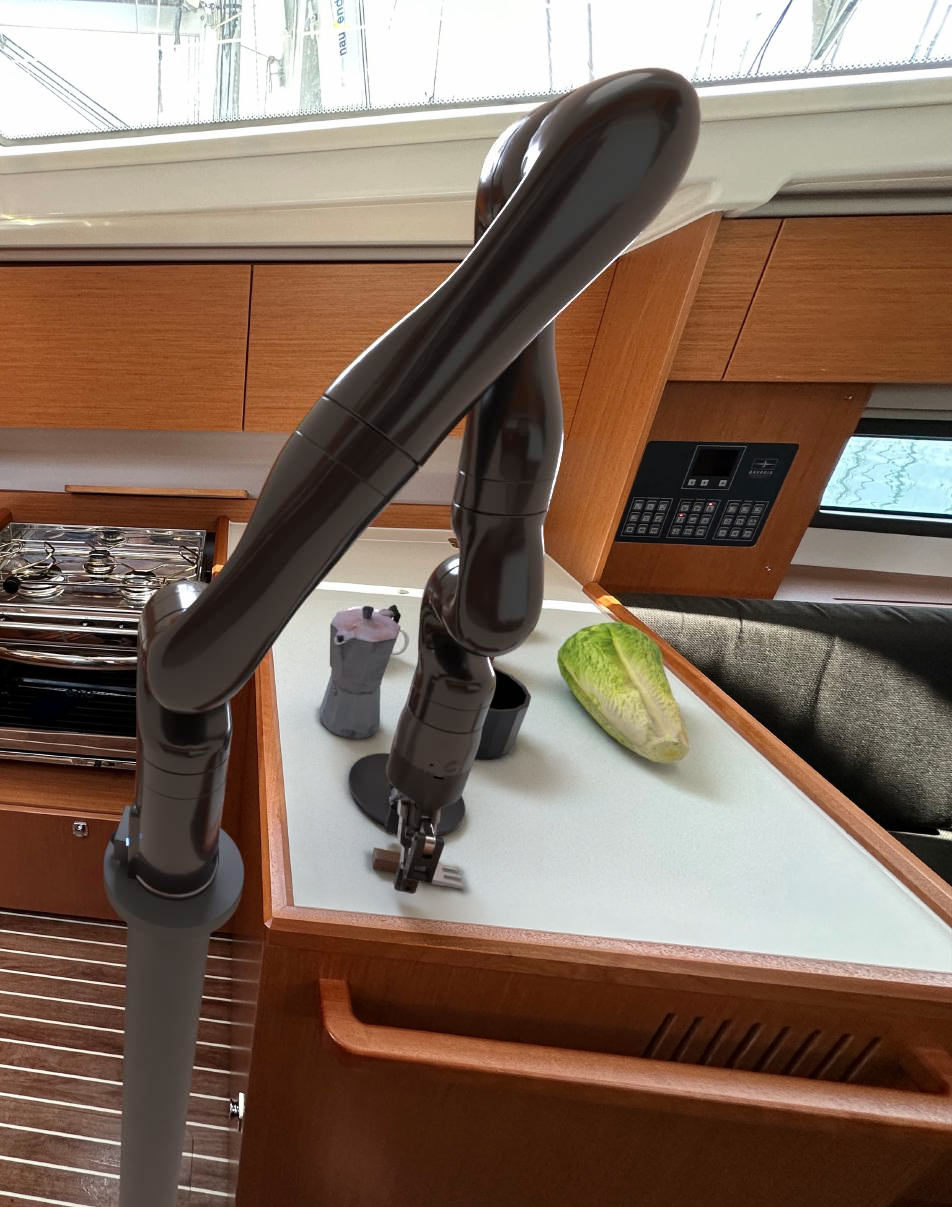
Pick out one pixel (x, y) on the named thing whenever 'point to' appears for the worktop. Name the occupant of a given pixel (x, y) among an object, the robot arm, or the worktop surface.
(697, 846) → the worktop surface
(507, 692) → the pot
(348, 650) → the moka pot
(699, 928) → the worktop surface
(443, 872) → the fork
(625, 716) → the lettuce
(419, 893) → the worktop surface
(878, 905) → the worktop surface
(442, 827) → the pot lid
